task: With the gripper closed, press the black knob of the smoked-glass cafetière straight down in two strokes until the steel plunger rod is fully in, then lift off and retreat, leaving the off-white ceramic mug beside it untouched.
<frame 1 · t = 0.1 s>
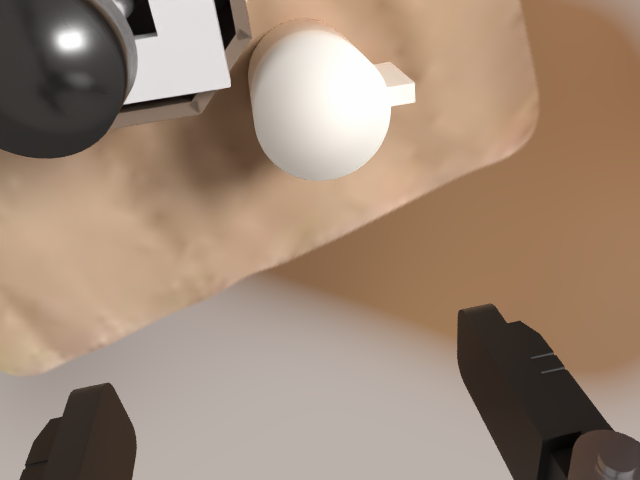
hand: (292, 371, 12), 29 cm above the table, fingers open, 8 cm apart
mug: (303, 78, 38), on the table
plunger: (108, 12, 18), point 18 cm above the table, slide at 0.0 cm
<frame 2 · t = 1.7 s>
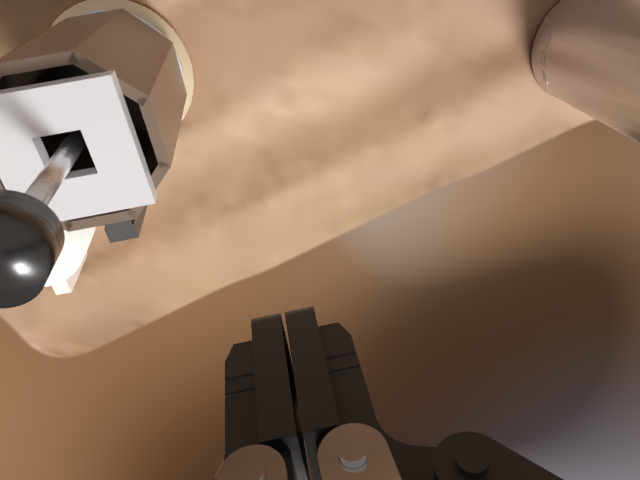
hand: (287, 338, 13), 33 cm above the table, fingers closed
mug: (58, 186, 44), on the table
plunger: (58, 166, 25), point 18 cm above the table, slide at 0.0 cm
carafe: (120, 75, 40), on the table
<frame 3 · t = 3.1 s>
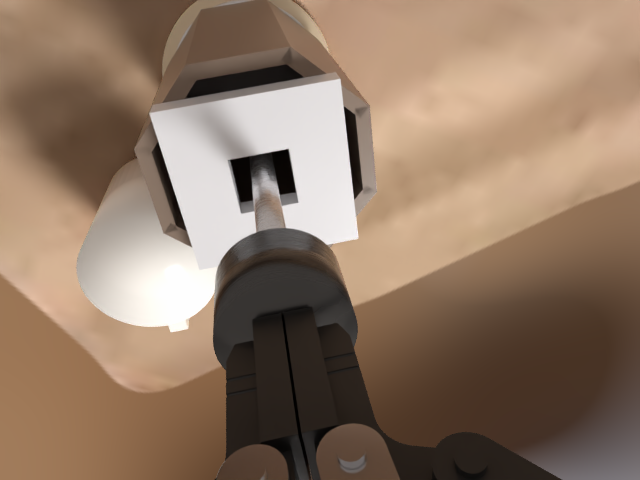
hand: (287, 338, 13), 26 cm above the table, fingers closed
mug: (164, 204, 38), on the table
plunger: (265, 187, 20), point 17 cm above the table, slide at 0.8 cm, touching gripper
carafe: (249, 77, 34), on the table
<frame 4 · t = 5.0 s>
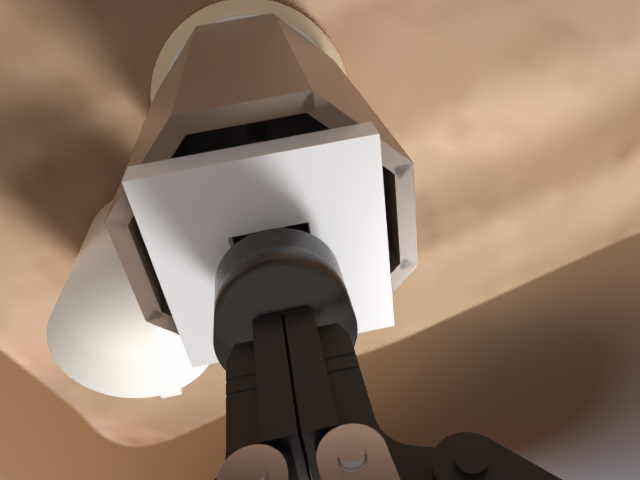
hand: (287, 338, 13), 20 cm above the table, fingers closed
mug: (155, 246, 33), on the table
plunger: (264, 187, 20), point 11 cm above the table, slide at 6.6 cm, touching gripper
carafe: (252, 103, 30), on the table
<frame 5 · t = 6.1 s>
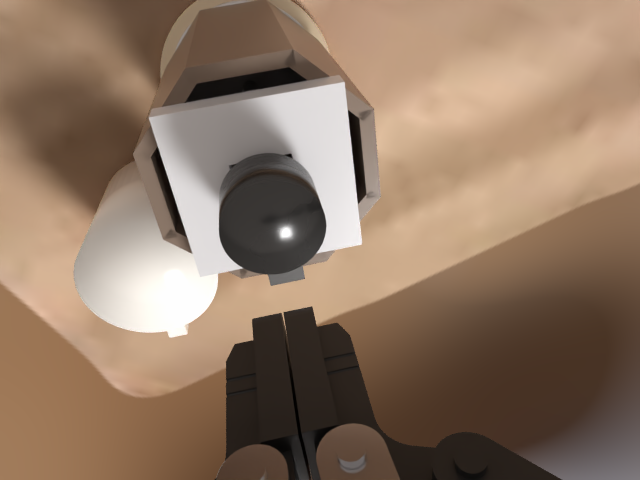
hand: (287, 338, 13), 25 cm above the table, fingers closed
mug: (162, 207, 38), on the table
plunger: (258, 138, 25), point 11 cm above the table, slide at 6.7 cm
carafe: (248, 78, 34), on the table
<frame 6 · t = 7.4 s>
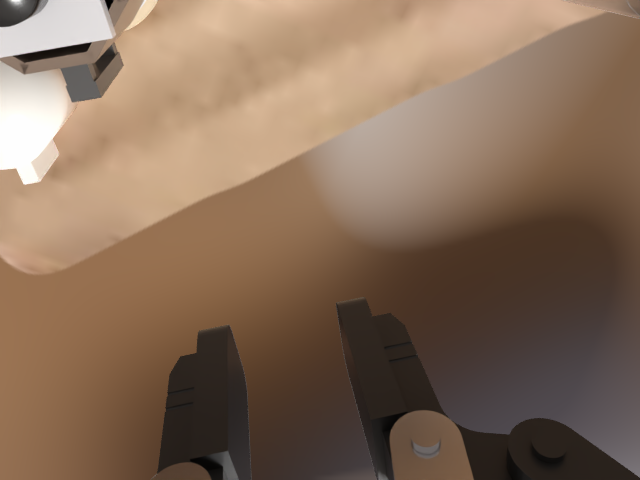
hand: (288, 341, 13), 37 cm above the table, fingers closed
mug: (28, 80, 43), on the table
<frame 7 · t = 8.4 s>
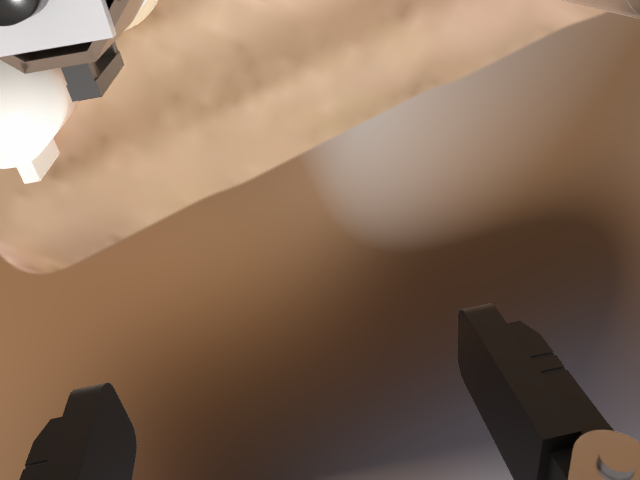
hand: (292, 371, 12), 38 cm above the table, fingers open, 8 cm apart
mug: (28, 80, 43), on the table
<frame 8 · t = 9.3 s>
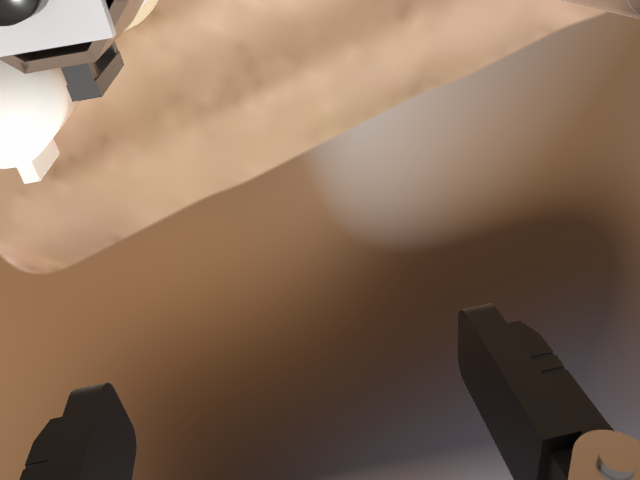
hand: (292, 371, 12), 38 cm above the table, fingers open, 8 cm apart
mug: (28, 80, 43), on the table
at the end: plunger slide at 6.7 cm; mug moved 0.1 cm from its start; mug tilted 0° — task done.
